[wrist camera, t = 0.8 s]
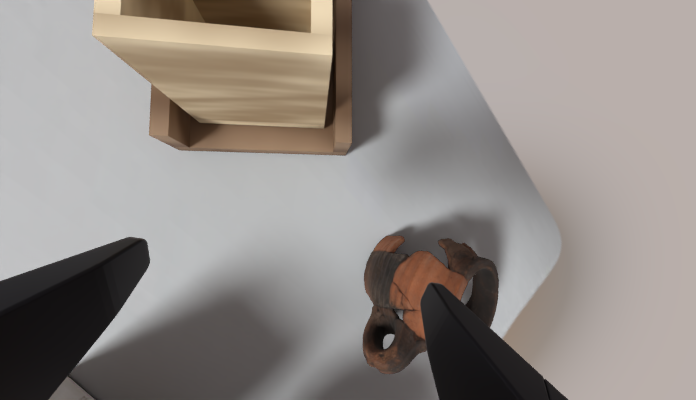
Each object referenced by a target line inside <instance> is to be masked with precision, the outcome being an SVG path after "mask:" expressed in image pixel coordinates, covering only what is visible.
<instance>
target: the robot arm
mask: <svg viewBox="0 0 696 400" xmlns="http://www.w3.org/2000/svg"><path fill="white" fill-rule="evenodd" d="M149 263H150V257H149V251H148V245H147V241H146V240H145V239H142V238H135V237H127V238H124V239H121V240H118V241H116V242H113V243H110V244H107V245H104V246H101V247H98V248H95V249H92V250H89V251H87V252H84V253H81V254H78V255H75V256H72V257H69V258H66V259H63V260H60V261H58V262H55V263H52V264H49V265H46V266H43V267H40V268H37V269H34V270H31V271H28V272H26V273H23V274H20V275H17V276H14V277H11V278H8V279H5V280H2V281H0V400H49V399H50V397H51V396H52V395H53V394H54V392H55V391H56V390H57V389H58V387H59V386H60V385H61V384H62V382H63V381H64V380H65V379H66V378H67V376H68V375H69V374H70V373H71V371H72V370H73V369H74V368H75V366H76V365H77V364H78V363H79V361H80V360H81V359H82V358H83V356H84V355H85V354H86V353H87V351H88V350H89V349H90V348H91V347H92V345H93V344H94V343H95V342H96V340H97V339H98V338H99V337H100V335H101V334H102V333H103V332H104V330H105V329H106V328H107V327H108V325H109V324H110V323H111V322H112V320H113V319H114V318H115V316H116V315H117V314H118V312H119V311H120V309H121V308H122V307H123V305H124V303H125V302H126V300H127V299H128V297H129V296H130V294H131V293H132V291H133V290H134V288H135V287H136V285H137V284H138V282H139V281H140V279H141V278H142V276H143V275H144V273H145V272H146V270H147V268H148V266H149ZM420 308H421V314H422V321H423V328H424V334H425V341H426V347H427V352H428V357H429V361H430V365H431V369H432V373H433V377H434V380H435V384H436V388H437V392H438V396H439V400H568V399H567V398H566V397H565V396H563V395H562V394H561V393H560V392H559V391H558V390H557V389H556V388H555V387H553V385H551V384H550V383H549V382H548V381H547V380H546V379H544V378H543V376H541V375H540V374H539V373H538V372H537V371H536V370H535V369H534V368H532V366H531V365H530V364H528V363H527V362H526V361H525V360H524V359H523V358H522V357H521V356H520V355H519V354H518V353H516V352H515V351H514V350H513V349H512V348H511V347H510V346H509V345H508V344H507V343H506V342H505V341H504V340H502V339H501V338H500V337H499V336H498V335H497V334H496V333H495V332H494V331H493V330H492V329H490V328H489V327H488V326H487V325H486V324H485V323H484V322H483V321H482V320H481V319H480V318H478V317H477V316H476V315H475V314H474V313H473V312H472V311H471V310H470V309H469V308H468V307H467V306H465V305H464V304H463V303H462V302H461V301H460V300H459V299H458V298H457V297H456V296H455V295H453V294H452V293H451V292H450V291H449V290H448V289H447V288H446V287H445V286H444V285H442V284H440V283H433V282H431V283H429V284H428V285H427V287H426V289H425V291H424V294H423V296H422V298H421V301H420Z"/></svg>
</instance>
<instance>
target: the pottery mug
mask: <svg viewBox="0 0 696 400" xmlns="http://www.w3.org/2000/svg"><path fill="white" fill-rule="evenodd" d="M404 242H405V239H404V237H402V236H386V237H385V238H383V239H382V240H381V241H380V242H379V243H378V244H377V246H376V247H375V248H374V250H373V252H372V253H371V255H370V257H369V259H368V261H367V264H366V269H365V273H364V282H365V290H366V293H367V294H368V295H369V297H370V299H371V301H372V302H373V305H374V306H373V307H372V314H371V316H370V318H369V320H368V322H367V324H366V327H365V330H364V334H363V351H364V356H365V358H366V361H367V363H368V364H369V366H371V367H375V368H377V369H378V370H379V371H380V372H381V373H384V374H393V373H397V372H399V371H401V370H403V369H404V368H405V367H406V366H408V365H409V364H410V362H411V361H412V360H413V359H414V358H415V357H416V356H417V355H418V354H419V353H422V352H425V351H427V347H426V341H425V334H424V328H423V321H422V314H421V308H420V301H421V298H422V296H423V294H424V291H425V289H426V287H427V285H428V284H429V283H431V282H433V283H440V284H442V285H444V286H445V287H446V288H447V289H448V290H449V291H450V292H451V293H452V294H453V295H455V296H456V297H457V298H458V299H459V300H460V301H461V298H462V295H463V293H464V290H465V288H466V286H467V284H468V281H469V280H470V279H471V278H472V277H473V288H472V294H471V297H470V299H469V301H468V302H467V304H466V305H465V306H467V307H468V308H469V309H470V310H471V311H472V312H473V313H474V314H475V315H476V316H477V317H478V318H480V319H481V320H482V321H483V322H484V323H485V324H486V325H487V326H488V327H489V328H490V326H491V324H492V321H493V318H494V315H495V311H496V306H497V301H498V286H499V279H498V273H497V269H496V266H495V264H494V263H493V262H492V261H490V260H489V259H485V258H481V257H478V256H477V254H476V253H475V251H473V250H472V248H471V247H469V246H468V245H466V244H465V243H463V244H459V243H456V242H454V241H453V240H452V239H449V238H447V239H441V240H439V241H438V243H439V245H440V246H441V247H442V248H443V249H445V253H446V255H447V259H448V268H447V267H446V266H445V265H444V264H443V263H442V262H440V261H439V260H438V259H437V258H436V257H435V256H433V255H432V254H431V253H430V252H428V251H417V252H415V253H414V254H412V255H411V256H408V255H407V254H397V253H395V251H396V250H397V249H398V247H399V246H400V245H401V244H402V243H404ZM475 274H476V275H475ZM394 309H400V310H404V312H403V320H401V319H400V318H399V316H398V314H397V313H396V312H395V310H394ZM387 334H394V335H395V337H394V340H393V342H392V344H391V345H390V346H389V347H388V348H387V349H383V339H384V337H385V336H386V335H387Z"/></svg>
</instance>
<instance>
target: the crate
mask: <svg viewBox="0 0 696 400" xmlns="http://www.w3.org/2000/svg"><path fill="white" fill-rule="evenodd" d="M92 36H94V37H95V38H96V39H97V40H98V41H100V42H101V43H102V44H103V45H105V46H106V47H107V48H108V49H110V50H111V51H112V52H113V53H114V54H116V55H117V56H118V57H119V58H121V59H122V60H123V61H124V62H125V63H127V64H128V65H129V66H130V67H132V68H133V69H134V70H135V71H137V72H138V73H139V74H140V75H141V76H143V77H144V78H145V79H146V80H148V81H149V82H150V83H151V84H153V85H154V86H155V87H156V88H157V89H159V90H160V91H161V92H162V93H164V94H165V95H166V96H167V97H169V98H170V99H171V100H172V101H173V102H175V103H176V104H177V105H178V106H180V107H181V108H182V109H183V110H185V111H186V112H187V113H188V114H189V115H191V116H192V117H193V118H194V119H196V120H197V121H198V122H199V123H213V124H236V125H258V126H280V127H302V128H324V124H325V115H326V106H327V98H328V89H329V80H330V71H331V62H332V0H94V15H93V31H92Z"/></svg>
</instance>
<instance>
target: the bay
mask: <svg viewBox="0 0 696 400" xmlns="http://www.w3.org/2000/svg"><path fill="white" fill-rule="evenodd" d="M149 135H150V136H152V137H154V138H156V139H158V140H160V141H162V142H164V143H166V144H168V145H170V146H172V147H174V148H176V149H178V150H188V151H220V152H252V153H283V154H315V155H346V153H347V151H348V149H349V147H350V145H351V144H352V0H332V62H331V71H330V80H329V89H328V98H327V106H326V115H325V124H324V128H302V127H280V126H258V125H236V124H213V123H199V122H198V121H197V120H196V119H194V118H193V117H192V116H191V115H189V114H188V113H187V112H186V111H185V110H183V109H182V108H181V107H180V106H178V105H177V104H176V103H175V102H173V101H172V100H171V99H170V98H169V97H167V96H166V95H165V94H164V93H162V92H161V91H160V90H159V89H157V88H156V87H155V86H154V85H153V84H152V86H151V106H150V126H149Z"/></svg>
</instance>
